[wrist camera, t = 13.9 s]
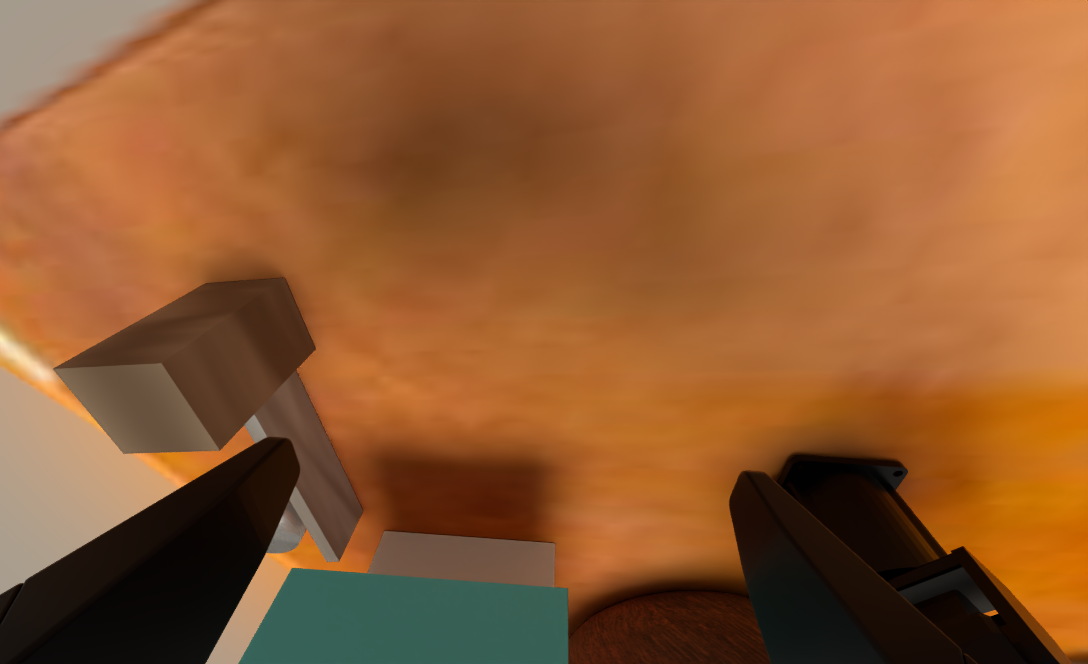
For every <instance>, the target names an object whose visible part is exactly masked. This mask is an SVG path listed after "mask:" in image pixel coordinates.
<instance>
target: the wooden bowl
mask: <svg viewBox="0 0 1088 664" xmlns="http://www.w3.org/2000/svg"><path fill="white" fill-rule="evenodd" d="M568 664H771V663H770V660H769V657H768V653H767V650H766V647H765V644H764V641H763V638H762V635H761V632H760V629H759V625H758V622H757V619H756V616H755V613H754V610H753V607H752V604H751V600H750V598H749V597H744V596H740V595H735V594H729V593H722V592H712V591H676V592H666V593H658V594H652V595H646V596H642V597H637V598H634V599H630V600H626V601H623V602H621V603H618V604H615V605H613V606H610V607H608V608H606V609H604V610H602V611H600V612H598V613H596V614H595V615H593V616H592V617H590V618H589V619H588V620H587V621H585V622H584V623H583V624H582V625H581V626H580V627H579V628H578V629H577V630H576V631H575V632H574V633H573V634H572V636H571V637H570V638H569V640H568Z"/></svg>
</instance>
